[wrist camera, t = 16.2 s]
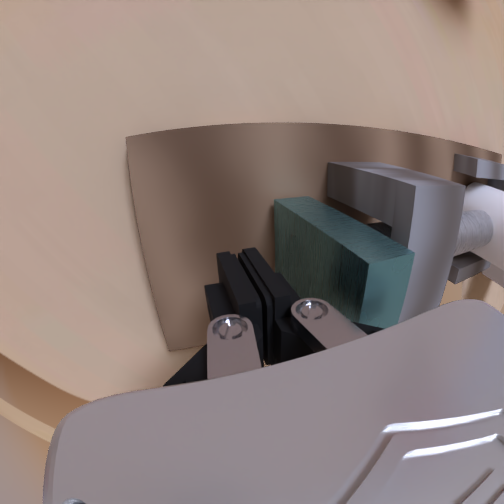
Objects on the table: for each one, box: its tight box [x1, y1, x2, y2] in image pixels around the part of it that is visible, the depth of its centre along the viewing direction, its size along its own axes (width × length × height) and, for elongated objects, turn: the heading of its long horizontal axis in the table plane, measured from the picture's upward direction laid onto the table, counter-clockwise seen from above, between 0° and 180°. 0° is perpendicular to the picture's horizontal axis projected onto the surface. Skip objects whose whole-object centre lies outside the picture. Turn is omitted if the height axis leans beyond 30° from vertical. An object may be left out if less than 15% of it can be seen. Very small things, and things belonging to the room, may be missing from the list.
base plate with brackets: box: [126, 123, 504, 351], centre depth 16 cm, size 35×13×8 cm, turn 93°
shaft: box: [274, 196, 493, 329], centre depth 14 cm, size 17×5×8 cm, turn 93°
